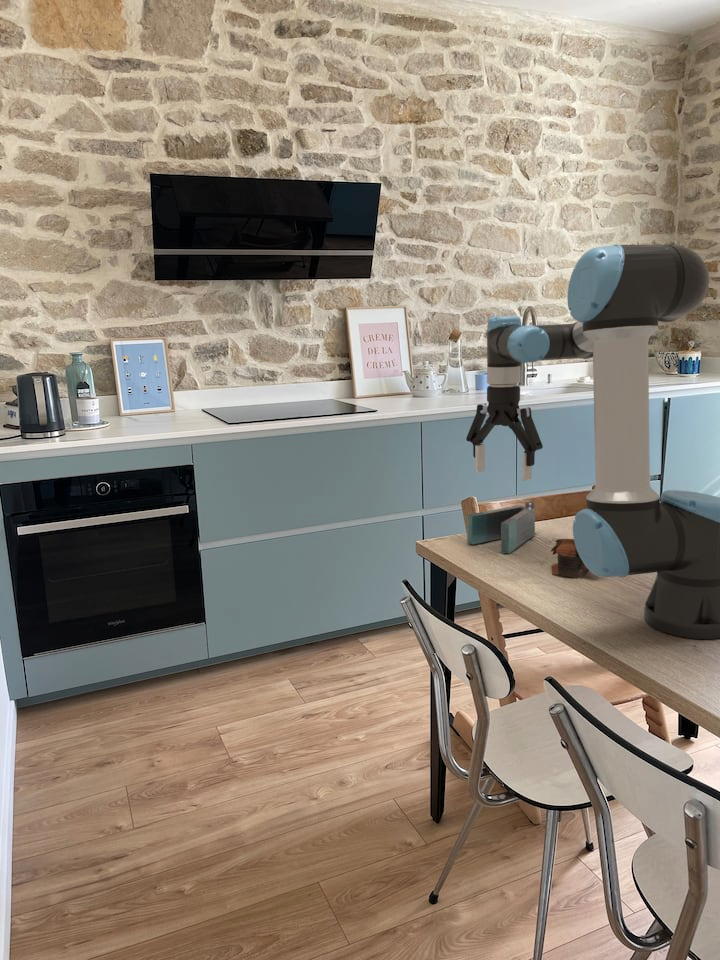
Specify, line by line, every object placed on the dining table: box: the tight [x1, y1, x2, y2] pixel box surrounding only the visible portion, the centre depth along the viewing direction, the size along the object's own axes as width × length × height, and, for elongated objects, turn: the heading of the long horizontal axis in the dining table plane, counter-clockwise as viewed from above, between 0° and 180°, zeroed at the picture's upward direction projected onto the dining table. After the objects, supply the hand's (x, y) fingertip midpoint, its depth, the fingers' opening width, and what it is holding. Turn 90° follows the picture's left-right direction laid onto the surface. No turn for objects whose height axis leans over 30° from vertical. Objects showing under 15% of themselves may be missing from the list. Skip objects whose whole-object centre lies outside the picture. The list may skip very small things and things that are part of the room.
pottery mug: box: [550, 538, 591, 579], centre depth 158 cm, size 12×10×8 cm
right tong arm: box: [500, 507, 536, 554], centre depth 177 cm, size 16×2×7 cm, turn 146°
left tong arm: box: [466, 504, 525, 546], centre depth 182 cm, size 16×2×7 cm, turn 118°
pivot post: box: [524, 501, 535, 509], centre depth 185 cm, size 2×2×8 cm
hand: (502, 475), depth 175 cm, fingers open, 13 cm apart
